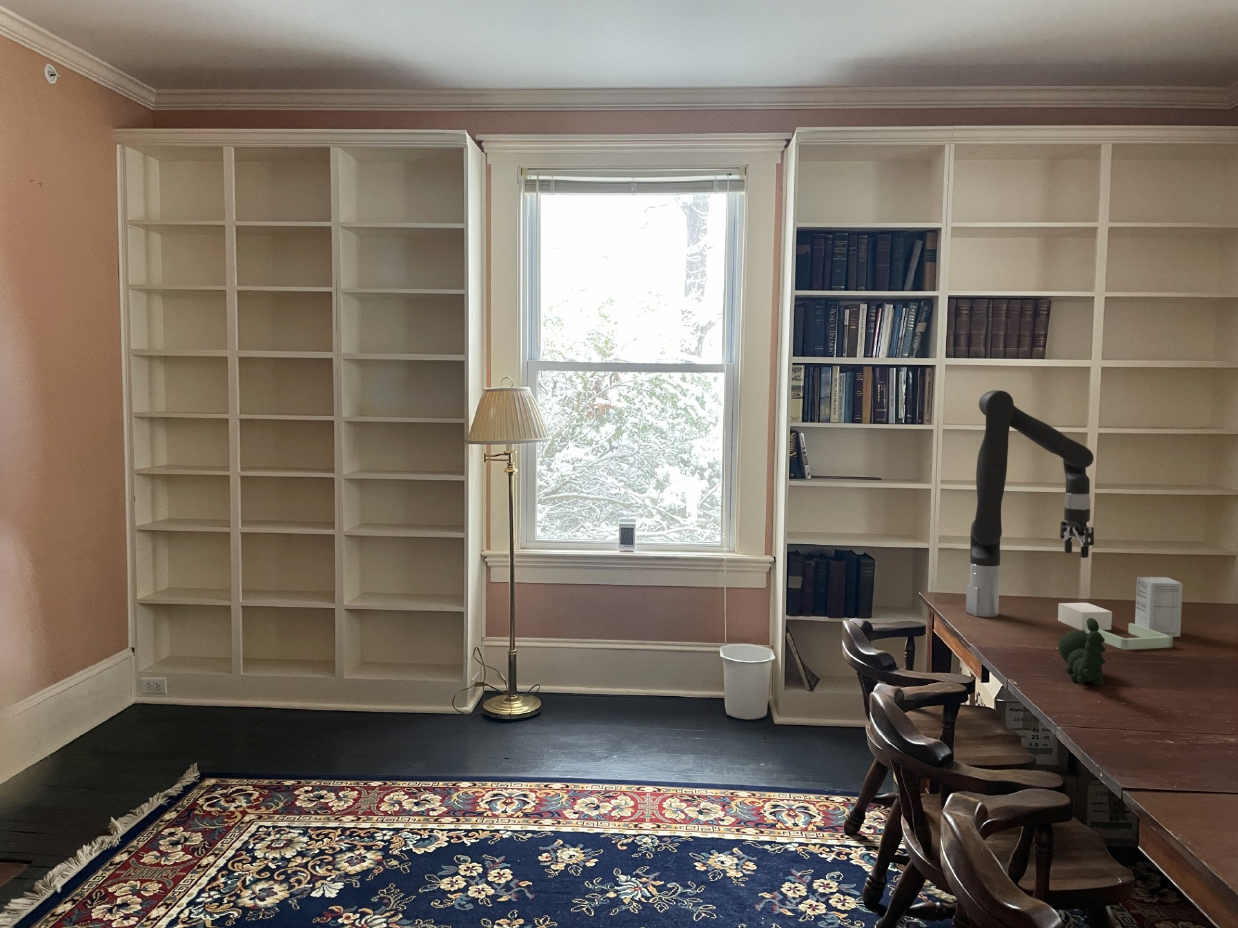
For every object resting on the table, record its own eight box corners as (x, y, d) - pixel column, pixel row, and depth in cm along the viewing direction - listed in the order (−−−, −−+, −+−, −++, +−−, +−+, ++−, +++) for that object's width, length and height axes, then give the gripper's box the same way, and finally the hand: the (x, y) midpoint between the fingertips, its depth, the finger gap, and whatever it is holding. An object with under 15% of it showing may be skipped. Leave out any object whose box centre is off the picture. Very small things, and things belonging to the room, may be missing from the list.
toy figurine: (1113, 700, 211) (1089, 661, 235) (1119, 627, 208) (1094, 595, 231) (1071, 696, 214) (1051, 658, 237) (1076, 624, 210) (1055, 593, 234)
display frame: (1123, 649, 248) (1124, 639, 248) (1085, 635, 263) (1085, 625, 263) (1172, 646, 251) (1173, 636, 251) (1131, 632, 266) (1132, 623, 266)
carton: (1081, 631, 268) (1082, 612, 268) (1057, 621, 280) (1058, 603, 280) (1111, 630, 270) (1112, 611, 269) (1086, 620, 282) (1086, 602, 281)
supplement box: (1165, 629, 270) (1168, 576, 269) (1181, 637, 261) (1184, 583, 260) (1133, 628, 271) (1136, 576, 270) (1148, 636, 262) (1151, 582, 261)
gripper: (1053, 504, 288) (1052, 551, 289) (1080, 510, 274) (1079, 559, 275) (1074, 503, 289) (1073, 550, 290) (1102, 509, 275) (1101, 558, 276)
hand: (1076, 555), depth 283 cm, fingers open, 8 cm apart
